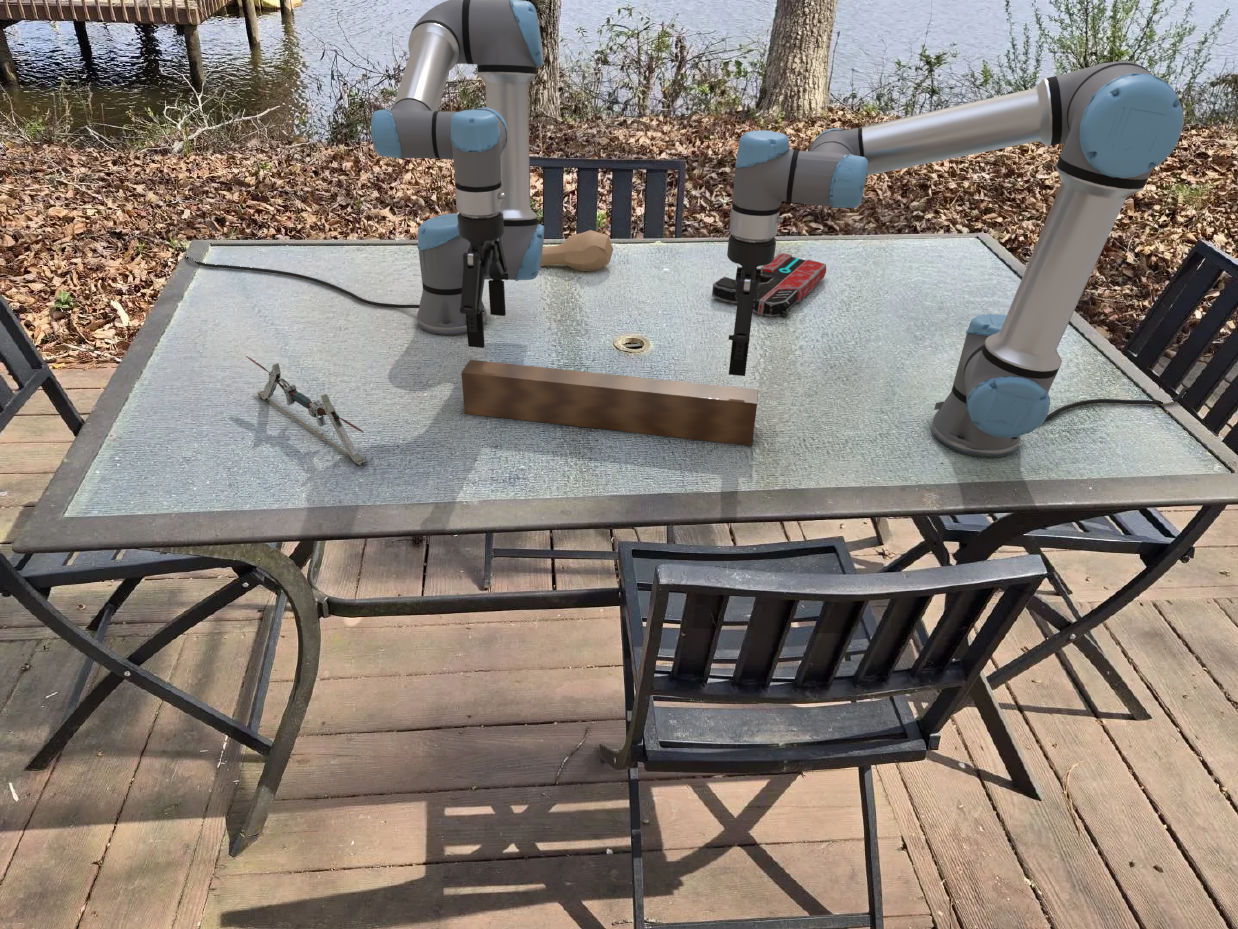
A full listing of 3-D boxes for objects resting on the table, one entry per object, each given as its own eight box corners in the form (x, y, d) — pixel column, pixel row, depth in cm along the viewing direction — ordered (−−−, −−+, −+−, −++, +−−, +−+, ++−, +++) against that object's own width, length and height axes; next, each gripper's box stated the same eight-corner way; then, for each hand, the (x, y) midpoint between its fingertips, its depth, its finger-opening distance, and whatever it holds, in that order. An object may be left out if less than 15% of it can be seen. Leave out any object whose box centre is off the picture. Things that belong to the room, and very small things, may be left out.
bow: (375, 468, 148) (367, 417, 142) (366, 472, 146) (358, 421, 141) (259, 389, 169) (248, 342, 163) (250, 392, 168) (239, 345, 162)
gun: (708, 284, 207) (784, 305, 199) (760, 245, 229) (831, 262, 221) (706, 302, 209) (781, 323, 201) (758, 261, 231) (828, 278, 223)
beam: (464, 413, 164) (460, 372, 159) (473, 400, 168) (469, 359, 163) (751, 445, 157) (757, 403, 152) (753, 430, 161) (758, 389, 156)
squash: (614, 275, 223) (610, 243, 217) (537, 282, 224) (531, 251, 218) (615, 253, 231) (611, 222, 224) (540, 260, 232) (534, 229, 226)
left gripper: (480, 238, 134) (488, 363, 146) (521, 191, 154) (525, 304, 166) (433, 234, 135) (444, 359, 146) (480, 188, 155) (487, 300, 167)
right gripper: (774, 265, 128) (758, 393, 140) (778, 212, 148) (763, 327, 160) (723, 261, 129) (711, 388, 141) (734, 209, 149) (722, 324, 161)
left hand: (487, 330), depth 156 cm, fingers open, 13 cm apart
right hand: (739, 356), depth 150 cm, fingers open, 13 cm apart
